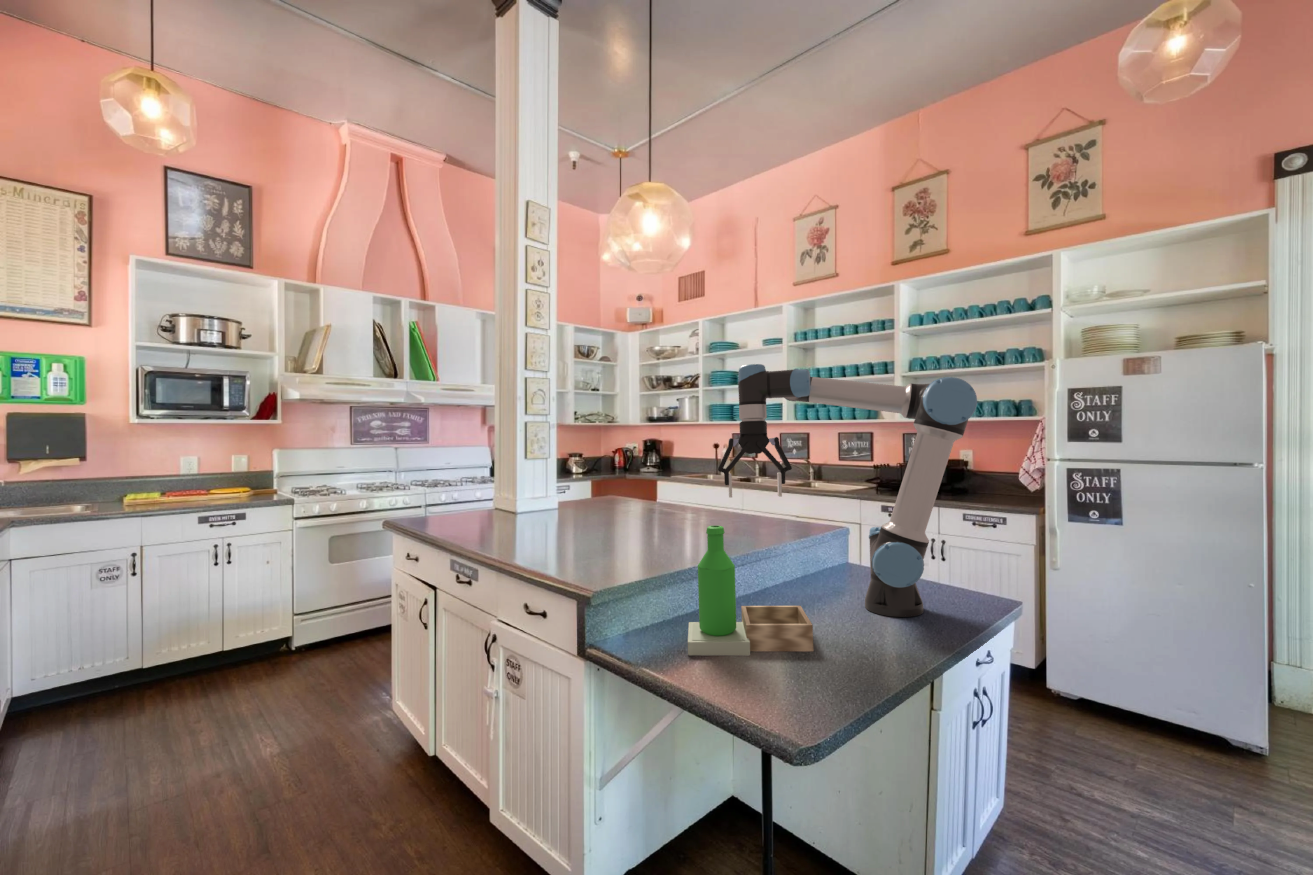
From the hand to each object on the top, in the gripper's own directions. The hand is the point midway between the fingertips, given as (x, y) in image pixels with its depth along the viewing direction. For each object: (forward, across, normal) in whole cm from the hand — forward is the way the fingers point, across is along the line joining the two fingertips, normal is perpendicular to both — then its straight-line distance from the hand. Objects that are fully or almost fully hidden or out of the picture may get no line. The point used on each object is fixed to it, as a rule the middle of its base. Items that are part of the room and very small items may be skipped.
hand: (755, 496), depth 156 cm
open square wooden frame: (+33, -2, +20) cm, 38 cm away
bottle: (+30, +12, +23) cm, 39 cm away
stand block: (+33, +12, +23) cm, 42 cm away
